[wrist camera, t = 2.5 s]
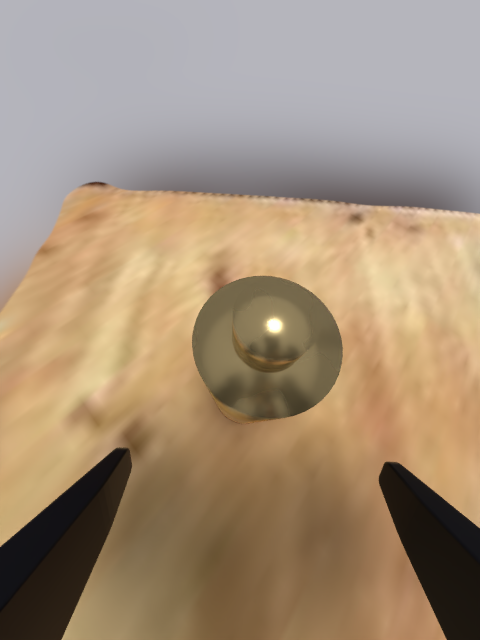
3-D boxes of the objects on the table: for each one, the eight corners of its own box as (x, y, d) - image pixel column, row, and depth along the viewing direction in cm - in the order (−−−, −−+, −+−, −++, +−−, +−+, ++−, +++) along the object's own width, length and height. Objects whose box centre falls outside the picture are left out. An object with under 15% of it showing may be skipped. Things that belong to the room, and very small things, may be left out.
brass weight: (256, 436, 18) (334, 464, 5) (203, 402, 19) (141, 346, 5) (282, 381, 20) (390, 289, 7) (234, 353, 21) (242, 223, 7)
